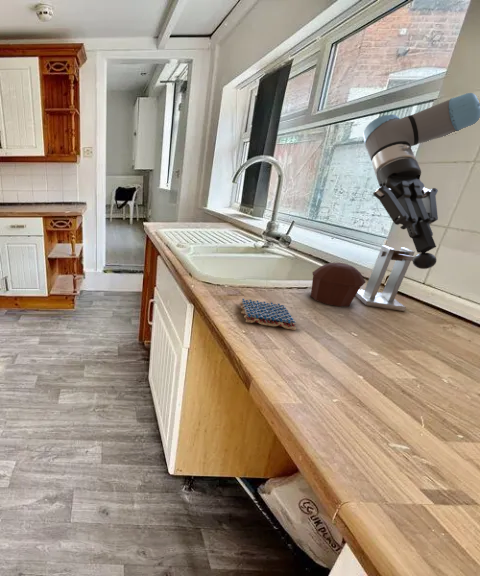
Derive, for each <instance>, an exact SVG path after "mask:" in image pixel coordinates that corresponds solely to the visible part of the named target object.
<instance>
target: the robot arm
mask: <svg viewBox="0 0 480 576" xmlns="http://www.w3.org/2000/svg"><path fill="white" fill-rule="evenodd" d="M477 97H478V96H477V95H476V94H475V93H474V92H467V93H466V92H465V93H464V94H461V95H458V96H456V97H451V98H450V99H447V100H445V101H442V102H440V103H437V104H435V105H432V106H429V107H428V108H425V109H423V110H420V111H418V112H415V113H413V114H410V115H408V116H404V117H399V116H398V115H396V114H392V113H391V114H387V115H386V114H384V115H381V116H379V117H377V118H374V119H373V120H372V121H370V122H369V123H368V124H367V125H366V127H365V128H364V130H363V132H362V137H363V141H364V146H365V148H366V151H367V154H368V156H369V159H370V162H371V165H372V168H373V171H374V175H375V176H376V180H377V183H378V186H379V187H378V188H377V189H376V190H375V191H374V192H372V195H373V196H374V197H375V198H376V199H377V200H379V202H380V203H381V206H382V207H383V208H384V209H385V211H386V212H387V214H388V216H389V217H390V219H391V221H392V222H393V223H394V225H397V226H399V225H401V226H400V229H401V230H406V231H407V234H408V236H409V238H410V239H412V242H413V245H414V247H415V250H416V253H417V254H420V253H428V252H430V251H431V250H434V249H436V247H437V245H436V243H435V240H434V237H433V236H434V232H433V230H432V228H431V224H433V223H435V222H437V221H438V220H439V217H438V206H437V205H438V204H437V194H438V192H439V191H438V188H436V187H432V188H431V189H429V188H426V187H425V184H424V183H423V182H422V181H421V179H420V178H421V175H422V169H421V167H420V164H419V162H418V160H417V159H416V156H415V153H414V152H413V149H412V147H414V146H417V145H419V144H423V143H427V141H428V142H430V141H433V140H437V139H440V138H444V137H447V136H446V135H448V134H450V133H452V132H455V131H459V130H461V129H463V128H466V127H468V126H471V125H473V124H475V123H476V122H477V121H478V120H479V118H480V103H479V100H478V98H477ZM443 136H444V137H443ZM448 136H449V135H448ZM429 140H430V141H429Z"/></svg>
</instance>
